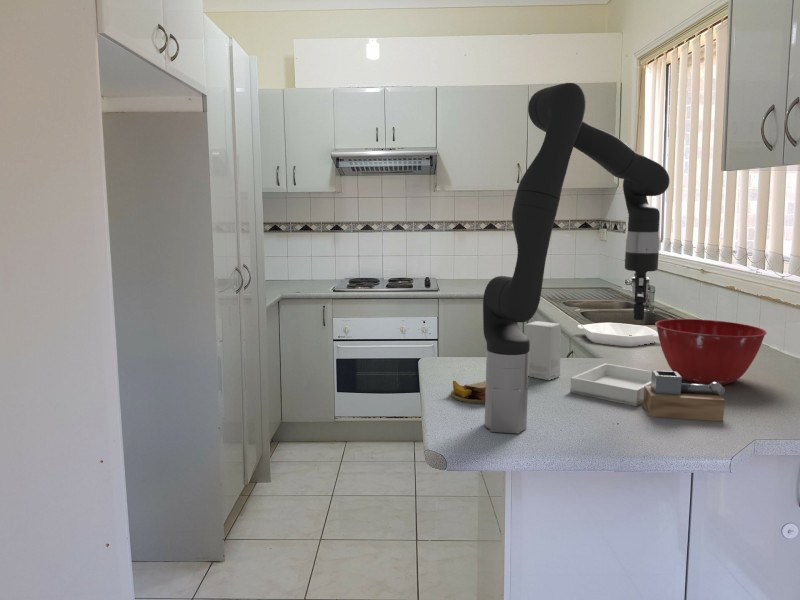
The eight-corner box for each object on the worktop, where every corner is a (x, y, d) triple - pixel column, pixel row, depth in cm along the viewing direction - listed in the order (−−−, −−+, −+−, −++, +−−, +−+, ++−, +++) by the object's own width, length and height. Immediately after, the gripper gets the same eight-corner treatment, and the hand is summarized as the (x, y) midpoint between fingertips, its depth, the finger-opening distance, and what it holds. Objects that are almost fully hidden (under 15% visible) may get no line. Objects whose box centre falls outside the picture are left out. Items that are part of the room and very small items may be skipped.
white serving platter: (567, 341, 240) (567, 329, 240) (586, 331, 262) (587, 320, 261) (655, 352, 225) (656, 339, 224) (668, 340, 246) (669, 328, 245)
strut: (727, 398, 152) (729, 379, 151) (655, 394, 155) (656, 375, 154) (720, 391, 157) (722, 373, 157) (650, 387, 160) (652, 370, 159)
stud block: (723, 421, 151) (725, 387, 150) (649, 416, 154) (652, 382, 153) (712, 409, 160) (714, 377, 159) (643, 405, 163) (645, 373, 161)
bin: (636, 406, 162) (637, 390, 161) (570, 392, 173) (570, 377, 172) (666, 388, 178) (667, 373, 177) (604, 376, 189) (605, 363, 189)
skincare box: (560, 377, 188) (563, 323, 186) (548, 381, 184) (551, 326, 181) (535, 372, 194) (537, 320, 192) (522, 376, 189) (524, 322, 187)
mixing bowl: (657, 362, 207) (661, 314, 205) (760, 374, 194) (765, 323, 192) (645, 383, 182) (649, 329, 180) (762, 398, 169) (768, 340, 167)
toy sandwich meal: (483, 388, 177) (483, 371, 176) (511, 402, 164) (512, 384, 164) (442, 394, 171) (442, 376, 171) (468, 408, 159) (469, 389, 159)
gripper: (660, 253, 150) (656, 323, 153) (657, 248, 164) (653, 313, 166) (625, 252, 153) (621, 321, 155) (625, 248, 166) (622, 311, 168)
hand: (638, 317), depth 160 cm, fingers open, 8 cm apart
